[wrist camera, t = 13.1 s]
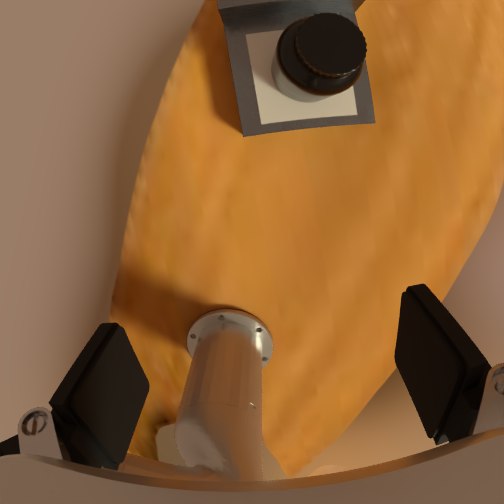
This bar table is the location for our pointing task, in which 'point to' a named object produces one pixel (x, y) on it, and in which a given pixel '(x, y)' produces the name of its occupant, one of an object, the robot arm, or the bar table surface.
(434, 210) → the bar table surface
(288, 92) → the supplement bottle
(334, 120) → the shelf block
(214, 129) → the bar table surface
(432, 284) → the bar table surface
